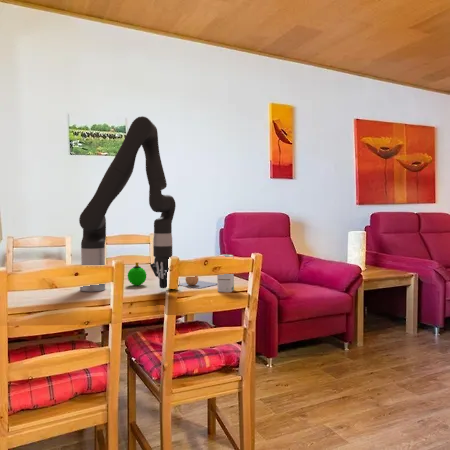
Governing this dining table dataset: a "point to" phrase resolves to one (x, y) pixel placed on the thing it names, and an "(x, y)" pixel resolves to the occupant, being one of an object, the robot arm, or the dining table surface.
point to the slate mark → (200, 284)
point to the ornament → (137, 275)
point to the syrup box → (225, 281)
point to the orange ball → (192, 280)
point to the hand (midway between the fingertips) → (163, 287)
